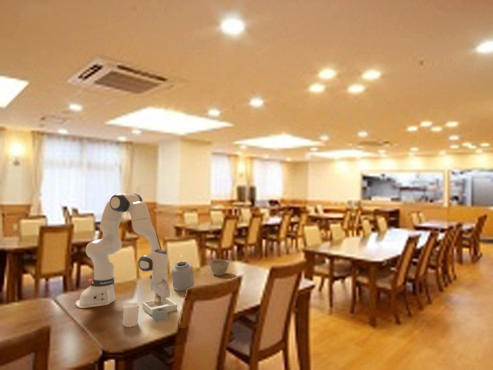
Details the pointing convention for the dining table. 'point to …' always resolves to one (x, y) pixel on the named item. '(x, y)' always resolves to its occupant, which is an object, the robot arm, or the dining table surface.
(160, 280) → the robot arm
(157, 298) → the maple block
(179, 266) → the jar
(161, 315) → the slate block
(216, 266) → the planter bowl
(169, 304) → the cream tray
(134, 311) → the white cup
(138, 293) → the dining table surface
